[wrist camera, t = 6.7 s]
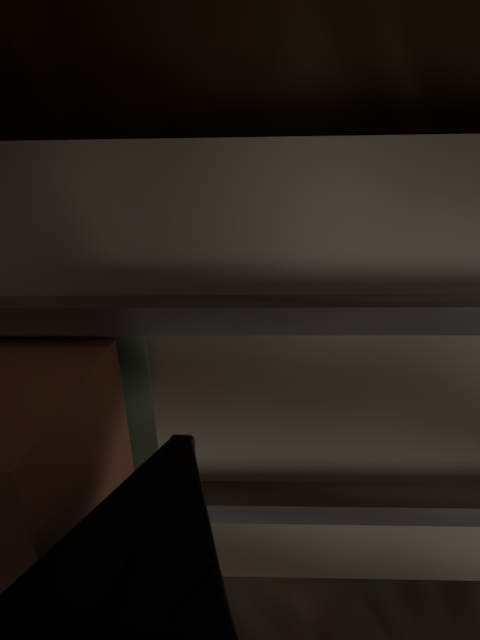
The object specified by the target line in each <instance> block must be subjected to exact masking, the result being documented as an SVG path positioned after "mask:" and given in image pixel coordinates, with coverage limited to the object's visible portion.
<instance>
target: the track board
mask: <svg viewBox="0 0 480 640" xmlns="http://www.w3.org/2000/svg"><path fill="white" fill-rule="evenodd" d="M0 339H116V346H117V353H118V360H119V367H120V374H121V381H122V388H123V395H124V402H125V409H126V416H127V423H128V429H129V436H130V443H131V450H132V457H133V464H134V471H135V470H136V469H137V468H138V467H139V466H141V465H142V464H143V463H144V462H145V461H146V460H147V459H148V458H149V457H150V456H151V455H152V454H154V453H155V452H156V451H157V450H158V449H159V448H160V447H161V446H162V445H163V444H164V443H165V442H167V441H168V440H169V439H170V437H171V436H172V435H174V434H182V435H192V436H193V437H194V439H195V451H196V459H197V464H198V469H199V473H200V478H201V482H202V487H203V491H204V496H205V501H206V505H207V510H208V514H209V519H210V524H211V528H212V533H213V537H214V542H215V547H216V551H217V556H218V560H219V565H220V569H221V573H222V576H238V577H295V578H352V579H409V580H466V581H480V134H421V135H356V136H291V137H226V138H161V139H96V140H31V141H0Z"/></svg>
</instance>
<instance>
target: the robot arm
mask: <svg viewBox="0 0 480 640" xmlns="http://www.w3.org/2000/svg"><path fill="white" fill-rule="evenodd" d="M0 640H239V638H238V635H237V632H236V629H235V626H234V623H233V619H232V615H231V611H230V607H229V603H228V599H227V595H226V591H225V587H224V582H223V578H222V573H221V569H220V565H219V560H218V556H217V551H216V547H215V542H214V537H213V533H212V528H211V524H210V519H209V514H208V510H207V505H206V501H205V496H204V491H203V487H202V482H201V478H200V473H199V469H198V464H197V459H196V451H195V439H194V437H193V436H192V435H182V434H174V435H172V436H171V437H170V439H169V440H168V441H167V442H165V443H164V444H163V445H162V446H161V447H160V448H159V449H158V450H157V451H156V452H155V453H154V454H152V455H151V456H150V457H149V458H148V459H147V460H146V461H145V462H144V463H143V464H142V465H141V466H139V467H138V468H137V469H136V470H135V471H134V472H133V473H132V474H131V475H130V476H129V477H128V478H126V479H125V480H124V481H123V482H122V483H121V484H120V485H119V486H118V487H117V488H116V489H115V490H113V491H112V492H111V493H110V494H109V495H108V496H107V497H106V498H105V499H104V500H103V501H102V502H100V503H99V504H98V505H97V506H96V507H95V508H94V509H93V510H92V511H91V512H90V513H89V514H87V515H86V516H85V517H84V518H83V519H82V520H81V521H80V522H79V523H78V524H77V525H75V526H74V527H73V528H72V529H71V530H70V531H69V532H68V533H67V534H66V535H65V536H64V537H62V538H61V539H60V540H59V541H58V542H57V543H56V544H55V545H54V546H53V547H52V548H51V549H49V550H48V551H47V552H46V553H45V554H44V559H43V558H40V559H38V560H37V561H36V562H35V563H34V564H33V565H32V566H31V567H30V568H29V569H28V570H26V571H25V572H24V573H23V574H22V575H21V576H20V577H19V578H18V579H17V580H15V581H14V582H13V583H12V584H11V585H10V586H9V587H8V588H6V589H5V590H4V591H3V592H2V593H1V594H0Z"/></svg>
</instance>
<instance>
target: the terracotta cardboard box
mask: <svg viewBox="0 0 480 640" xmlns="http://www.w3.org/2000/svg"><path fill="white" fill-rule="evenodd" d="M133 472H134V464H133V457H132V450H131V443H130V436H129V429H128V423H127V416H126V409H125V402H124V395H123V388H122V381H121V374H120V367H119V360H118V353H117V346H116V339H0V594H1V593H2V592H3V591H4V590H5V589H6V588H8V587H9V586H10V585H11V584H12V583H13V582H14V581H15V580H17V579H18V578H19V577H20V576H21V575H22V574H23V573H24V572H25V571H26V570H28V569H29V568H30V567H31V566H32V565H33V564H34V563H35V562H36V561H37V560H38V559H40V558H43V559H44V554H45V553H46V552H47V551H48V550H49V549H51V548H52V547H53V546H54V545H55V544H56V543H57V542H58V541H59V540H60V539H61V538H62V537H64V536H65V535H66V534H67V533H68V532H69V531H70V530H71V529H72V528H73V527H74V526H75V525H77V524H78V523H79V522H80V521H81V520H82V519H83V518H84V517H85V516H86V515H87V514H89V513H90V512H91V511H92V510H93V509H94V508H95V507H96V506H97V505H98V504H99V503H100V502H102V501H103V500H104V499H105V498H106V497H107V496H108V495H109V494H110V493H111V492H112V491H113V490H115V489H116V488H117V487H118V486H119V485H120V484H121V483H122V482H123V481H124V480H125V479H126V478H128V477H129V476H130V475H131V474H132V473H133Z"/></svg>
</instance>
